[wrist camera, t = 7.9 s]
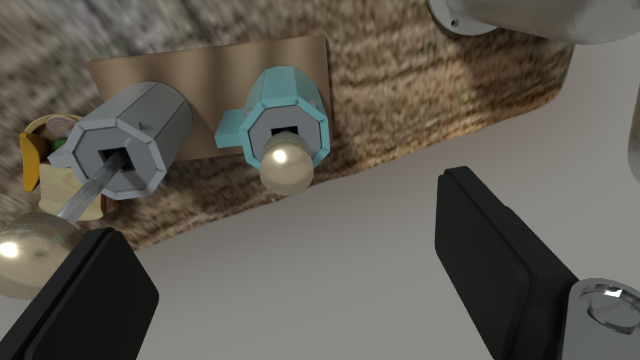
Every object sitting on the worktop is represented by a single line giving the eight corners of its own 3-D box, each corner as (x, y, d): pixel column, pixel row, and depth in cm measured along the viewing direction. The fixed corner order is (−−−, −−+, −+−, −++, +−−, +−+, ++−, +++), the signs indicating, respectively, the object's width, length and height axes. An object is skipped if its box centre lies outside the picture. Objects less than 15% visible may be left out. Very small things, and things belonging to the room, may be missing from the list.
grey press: (181, 76, 37) (144, 114, 27) (201, 139, 41) (175, 192, 31) (88, 87, 37) (14, 130, 27) (116, 150, 41) (62, 207, 31)
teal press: (313, 61, 38) (325, 92, 28) (319, 125, 42) (332, 172, 32) (222, 72, 37) (200, 107, 27) (237, 135, 42) (223, 186, 31)
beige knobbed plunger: (305, 76, 37) (319, 135, 23) (310, 121, 40) (325, 198, 26) (257, 82, 37) (243, 145, 23) (265, 127, 40) (257, 207, 26)
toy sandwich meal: (141, 130, 42) (127, 146, 37) (128, 212, 48) (114, 234, 44) (25, 95, 38) (-5, 109, 34) (27, 189, 44) (2, 210, 40)
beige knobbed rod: (149, 115, 31) (39, 230, 17) (168, 165, 33) (88, 300, 19) (89, 122, 30) (-72, 245, 16) (114, 172, 33) (-6, 313, 19)
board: (324, 34, 38) (325, 35, 37) (332, 138, 44) (333, 141, 43) (91, 60, 36) (86, 62, 35) (136, 162, 43) (133, 167, 42)
